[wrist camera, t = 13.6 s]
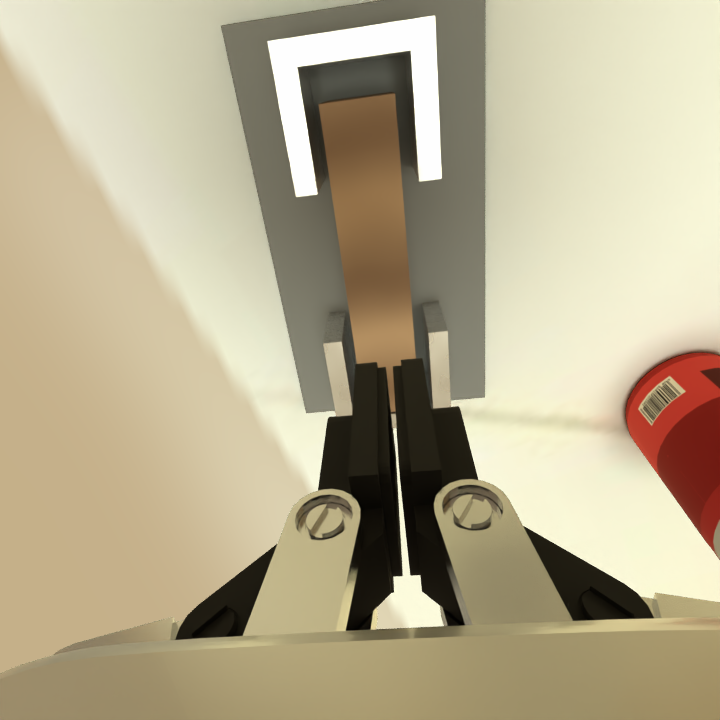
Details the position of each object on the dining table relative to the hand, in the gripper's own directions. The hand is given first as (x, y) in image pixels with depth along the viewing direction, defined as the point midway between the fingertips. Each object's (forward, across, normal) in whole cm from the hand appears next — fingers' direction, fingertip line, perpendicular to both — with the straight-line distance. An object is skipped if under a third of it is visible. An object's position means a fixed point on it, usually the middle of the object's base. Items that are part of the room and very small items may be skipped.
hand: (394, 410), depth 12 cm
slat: (+17, 0, +2) cm, 17 cm away
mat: (+17, 0, +1) cm, 17 cm away
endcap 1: (+17, 0, -6) cm, 18 cm away
